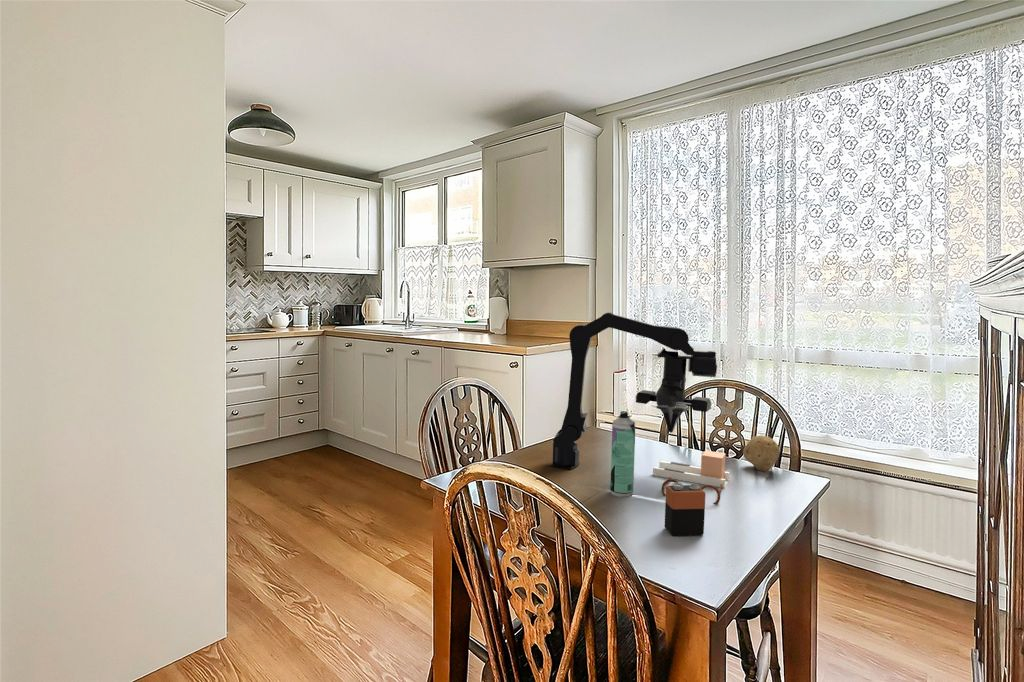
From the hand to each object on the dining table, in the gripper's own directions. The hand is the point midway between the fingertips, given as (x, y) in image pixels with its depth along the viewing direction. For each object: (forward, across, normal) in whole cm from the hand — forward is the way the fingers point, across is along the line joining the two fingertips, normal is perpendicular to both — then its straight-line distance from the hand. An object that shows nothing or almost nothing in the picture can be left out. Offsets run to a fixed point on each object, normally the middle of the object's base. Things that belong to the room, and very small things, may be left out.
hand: (670, 432), depth 147 cm
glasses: (+12, +9, -12) cm, 19 cm away
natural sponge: (+11, +21, +17) cm, 29 cm away
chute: (+11, +6, -1) cm, 13 cm away
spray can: (+12, -6, -21) cm, 25 cm away
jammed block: (+11, +12, -1) cm, 16 cm away
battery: (+12, +13, -35) cm, 39 cm away
